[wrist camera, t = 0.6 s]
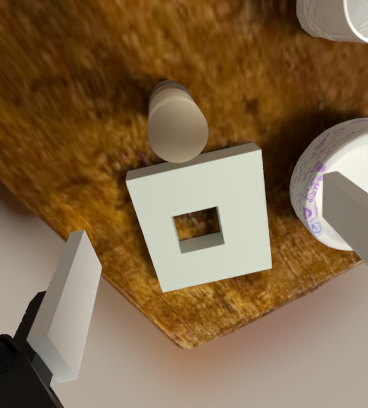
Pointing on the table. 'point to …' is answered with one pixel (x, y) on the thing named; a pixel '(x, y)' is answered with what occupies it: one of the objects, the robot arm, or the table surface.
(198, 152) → the maple dowel
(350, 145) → the paper bowls
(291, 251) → the table surface
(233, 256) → the socket board
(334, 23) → the white cup
